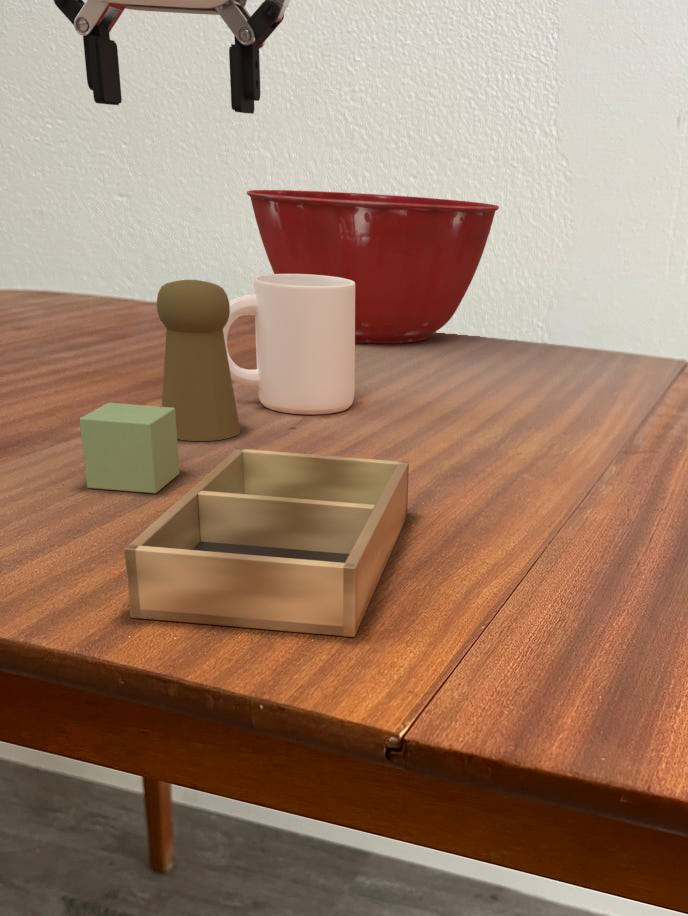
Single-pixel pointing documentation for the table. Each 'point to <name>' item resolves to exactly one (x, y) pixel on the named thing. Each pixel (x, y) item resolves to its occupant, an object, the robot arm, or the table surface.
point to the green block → (130, 447)
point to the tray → (272, 544)
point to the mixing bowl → (379, 252)
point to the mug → (300, 342)
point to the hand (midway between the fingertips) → (175, 108)
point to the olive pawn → (197, 360)
